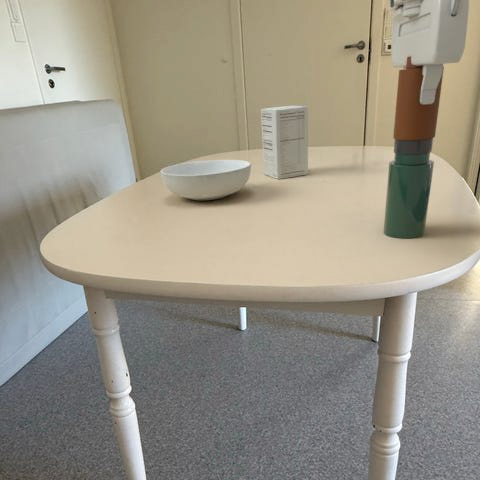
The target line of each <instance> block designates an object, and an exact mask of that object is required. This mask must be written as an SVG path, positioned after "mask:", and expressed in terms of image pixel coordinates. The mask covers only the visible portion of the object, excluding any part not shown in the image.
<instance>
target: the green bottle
mask: <svg viewBox="0 0 480 480" xmlns="http://www.w3.org/2000/svg"><path fill="white" fill-rule="evenodd" d="M393 142H394V143H393V153H394V159H393V160H391V161H389V163H388V173H387V184H386V197H385V207H384V217H383V218H384V219H383V228H382V229H383V231H382V233H383V234H384V235H385V236H387V237H390V238H395V237H396V239H416V238H421V237H423V236H424V235H425V233H426V226H427V217H428V211H429V203H430V196H431V190H432V189H431V187H432V180H433V173H434V164H435V162H434V160H431V159H430V157H431V153H432V151H433V144H434V138H431V139H424V140H397V139H394V141H393Z"/></svg>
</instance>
